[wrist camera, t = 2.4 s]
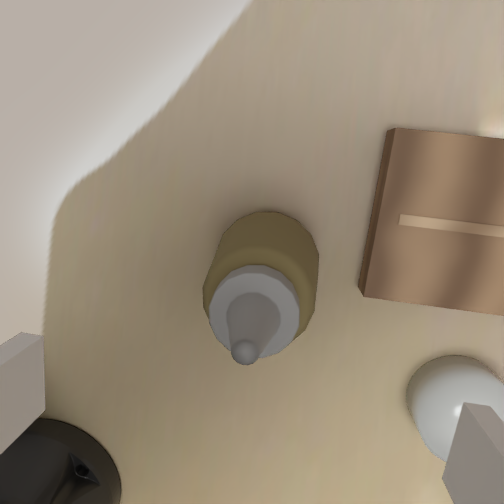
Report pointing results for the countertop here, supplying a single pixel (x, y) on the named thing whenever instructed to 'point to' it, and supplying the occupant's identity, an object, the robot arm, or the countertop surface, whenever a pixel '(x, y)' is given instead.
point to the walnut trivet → (438, 222)
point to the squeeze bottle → (261, 285)
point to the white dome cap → (450, 397)
